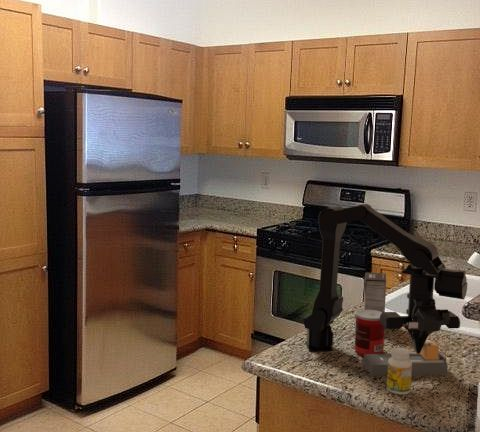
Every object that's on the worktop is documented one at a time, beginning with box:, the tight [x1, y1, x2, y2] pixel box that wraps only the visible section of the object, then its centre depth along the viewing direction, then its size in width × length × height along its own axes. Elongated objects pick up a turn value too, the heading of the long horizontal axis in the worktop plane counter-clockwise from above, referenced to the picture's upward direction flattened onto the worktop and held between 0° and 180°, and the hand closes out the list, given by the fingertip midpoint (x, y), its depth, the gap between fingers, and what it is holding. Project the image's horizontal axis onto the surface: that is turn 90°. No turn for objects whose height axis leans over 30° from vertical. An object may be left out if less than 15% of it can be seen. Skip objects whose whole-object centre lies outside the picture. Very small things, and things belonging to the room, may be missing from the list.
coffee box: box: [363, 272, 387, 312], centre depth 175 cm, size 9×6×16 cm
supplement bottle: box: [386, 347, 412, 396], centre depth 131 cm, size 5×5×10 cm
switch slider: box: [420, 339, 440, 360], centre depth 143 cm, size 3×4×4 cm
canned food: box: [354, 309, 386, 358], centre depth 154 cm, size 8×8×11 cm
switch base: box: [363, 351, 448, 378], centre depth 143 cm, size 19×7×4 cm, turn 94°
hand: (417, 352), depth 143 cm, fingers closed
